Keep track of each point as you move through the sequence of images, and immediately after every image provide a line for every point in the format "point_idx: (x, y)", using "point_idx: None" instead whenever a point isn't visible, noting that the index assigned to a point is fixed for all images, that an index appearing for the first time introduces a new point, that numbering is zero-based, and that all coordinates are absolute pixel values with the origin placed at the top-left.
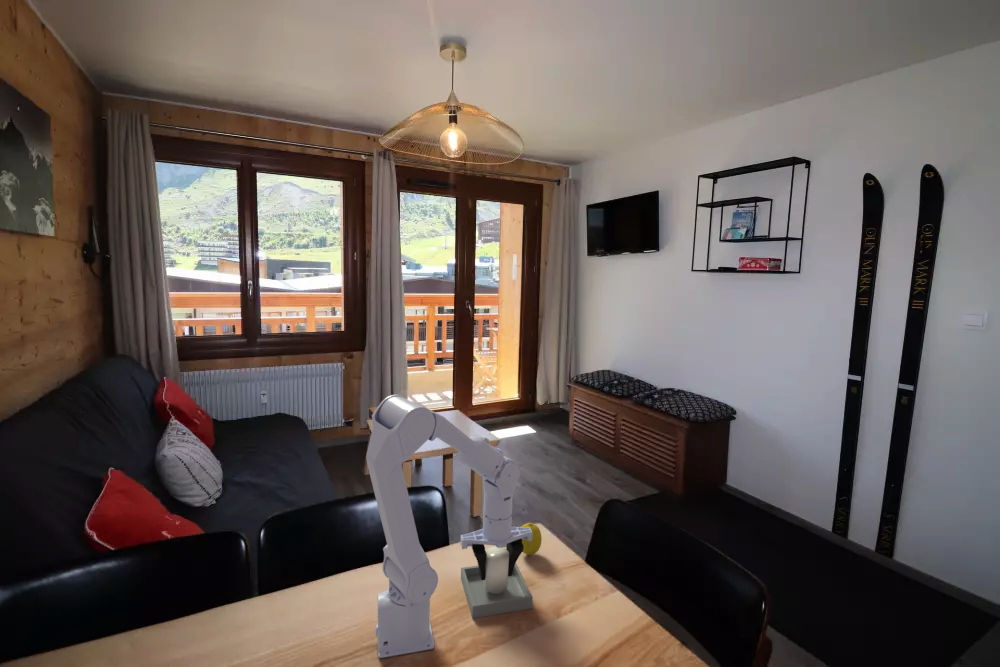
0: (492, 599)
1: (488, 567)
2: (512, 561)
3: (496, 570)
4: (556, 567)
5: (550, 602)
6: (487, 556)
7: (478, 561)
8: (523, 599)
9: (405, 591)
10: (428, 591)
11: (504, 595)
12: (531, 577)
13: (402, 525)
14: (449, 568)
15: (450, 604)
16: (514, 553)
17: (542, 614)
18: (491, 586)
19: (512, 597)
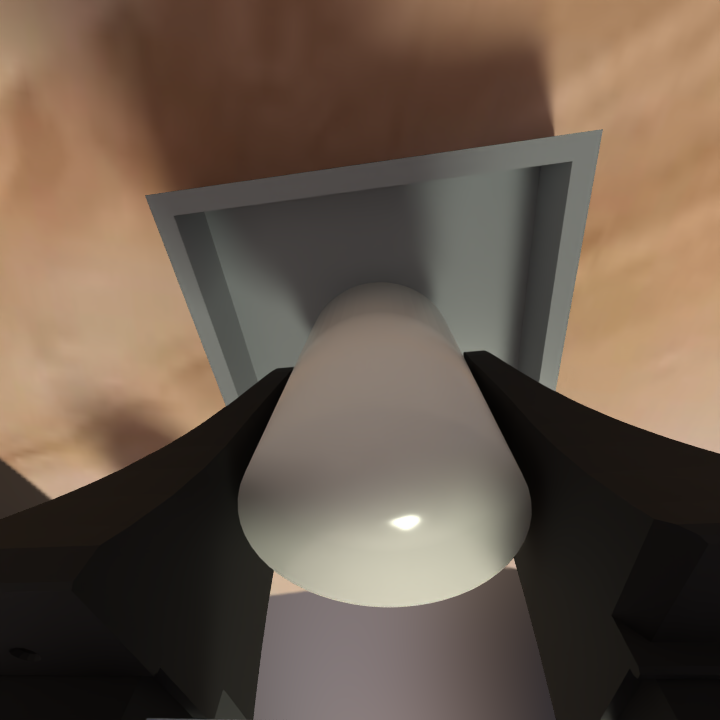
0: (406, 271)
1: (479, 392)
2: (222, 433)
3: (401, 350)
4: (94, 451)
5: (89, 233)
6: (502, 505)
7: (670, 439)
8: (211, 186)
9: None
10: None
11: (335, 296)
12: (199, 410)
13: None
14: None
15: (633, 275)
16: (128, 504)
17: (123, 130)
18: (421, 303)
19: (292, 276)
